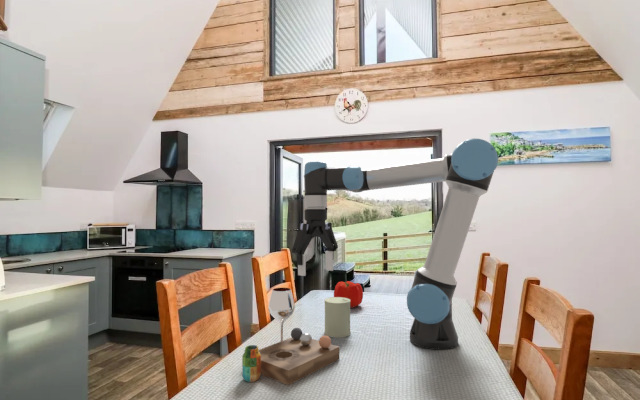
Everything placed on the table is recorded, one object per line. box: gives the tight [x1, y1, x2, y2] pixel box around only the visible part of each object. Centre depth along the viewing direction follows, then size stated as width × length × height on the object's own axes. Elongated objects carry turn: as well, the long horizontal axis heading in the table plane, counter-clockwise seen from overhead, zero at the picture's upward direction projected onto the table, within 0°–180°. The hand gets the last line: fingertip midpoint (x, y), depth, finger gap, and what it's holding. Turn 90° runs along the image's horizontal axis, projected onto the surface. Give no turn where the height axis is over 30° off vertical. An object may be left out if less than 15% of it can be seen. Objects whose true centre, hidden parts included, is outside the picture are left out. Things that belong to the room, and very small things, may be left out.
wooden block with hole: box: [259, 337, 340, 386], centre depth 105 cm, size 16×21×4 cm
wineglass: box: [268, 287, 296, 342], centre depth 118 cm, size 8×8×18 cm
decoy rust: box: [318, 334, 332, 348], centre depth 107 cm, size 4×4×4 cm
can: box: [323, 296, 351, 339], centre depth 132 cm, size 9×9×12 cm
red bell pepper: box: [333, 280, 364, 309], centre depth 169 cm, size 14×13×10 cm
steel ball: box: [300, 332, 313, 346], centre depth 109 cm, size 4×4×4 cm
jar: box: [241, 344, 262, 383], centre depth 95 cm, size 5×5×8 cm
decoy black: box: [290, 327, 303, 340], centre depth 114 cm, size 4×4×4 cm
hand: (316, 272), depth 124 cm, fingers open, 13 cm apart
